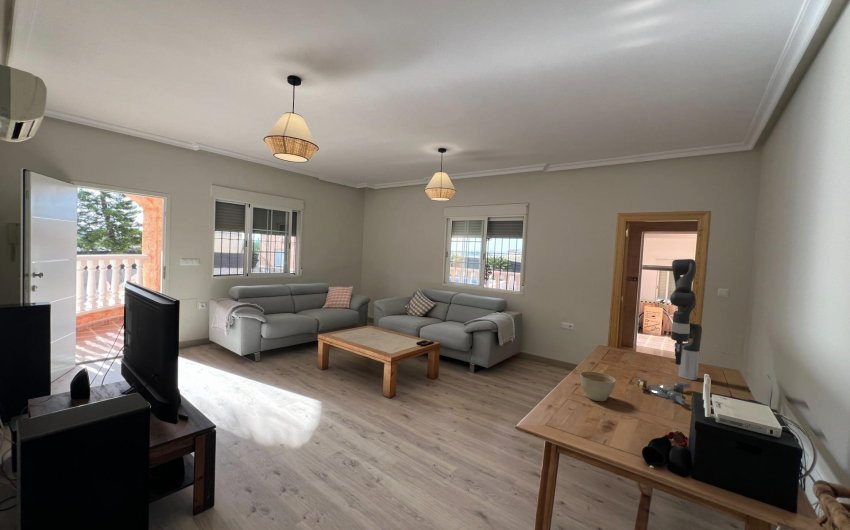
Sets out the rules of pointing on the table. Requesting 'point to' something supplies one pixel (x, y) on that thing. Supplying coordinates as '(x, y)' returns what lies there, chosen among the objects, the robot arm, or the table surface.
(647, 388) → the base
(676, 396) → the knob
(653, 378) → the table surface
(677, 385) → the grey bar with ball
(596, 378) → the planter bowl
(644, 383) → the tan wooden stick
